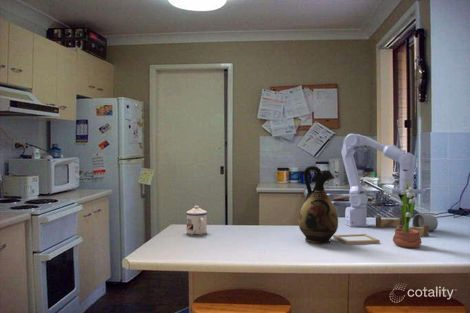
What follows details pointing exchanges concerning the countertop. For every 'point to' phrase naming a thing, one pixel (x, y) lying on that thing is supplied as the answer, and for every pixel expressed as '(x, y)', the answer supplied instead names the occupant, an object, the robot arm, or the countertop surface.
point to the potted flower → (407, 222)
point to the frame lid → (356, 239)
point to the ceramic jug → (318, 209)
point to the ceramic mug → (425, 221)
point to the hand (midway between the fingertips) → (405, 209)
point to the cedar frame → (400, 225)
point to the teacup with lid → (196, 221)
